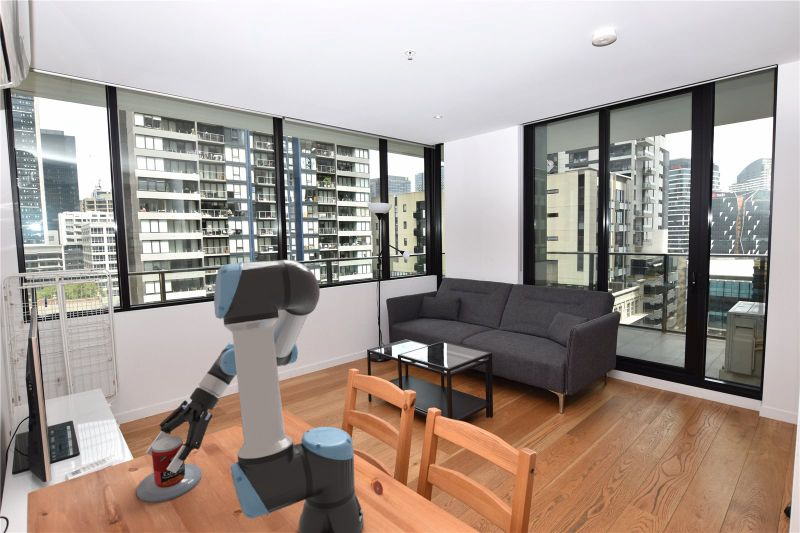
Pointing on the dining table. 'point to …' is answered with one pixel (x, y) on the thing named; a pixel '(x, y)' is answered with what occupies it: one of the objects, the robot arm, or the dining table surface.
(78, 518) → the dining table surface
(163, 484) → the canned food
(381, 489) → the dining table surface
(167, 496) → the slate plate
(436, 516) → the dining table surface
